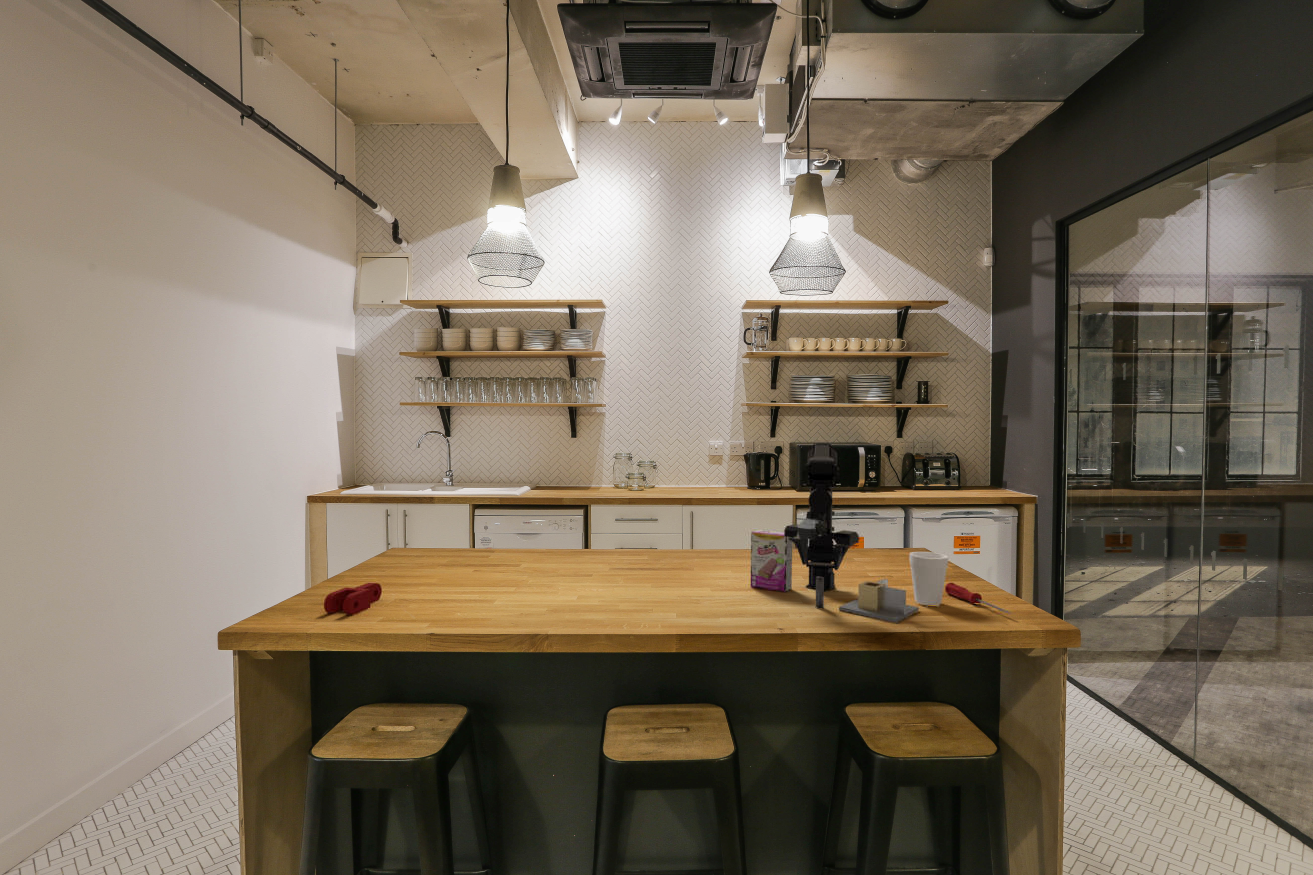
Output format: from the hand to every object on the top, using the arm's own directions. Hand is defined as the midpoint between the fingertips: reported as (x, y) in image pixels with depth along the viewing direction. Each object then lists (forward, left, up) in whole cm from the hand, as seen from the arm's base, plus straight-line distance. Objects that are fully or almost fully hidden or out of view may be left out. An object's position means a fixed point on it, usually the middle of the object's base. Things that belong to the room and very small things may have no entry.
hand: (820, 567), depth 168 cm
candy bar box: (-20, +8, -11) cm, 24 cm away
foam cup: (+19, +24, -11) cm, 32 cm away
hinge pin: (0, 0, -10) cm, 11 cm away
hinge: (+14, +9, -9) cm, 19 cm away
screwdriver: (+30, +31, -11) cm, 44 cm away
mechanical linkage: (-86, -83, -11) cm, 120 cm away
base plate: (+13, +8, -10) cm, 18 cm away
